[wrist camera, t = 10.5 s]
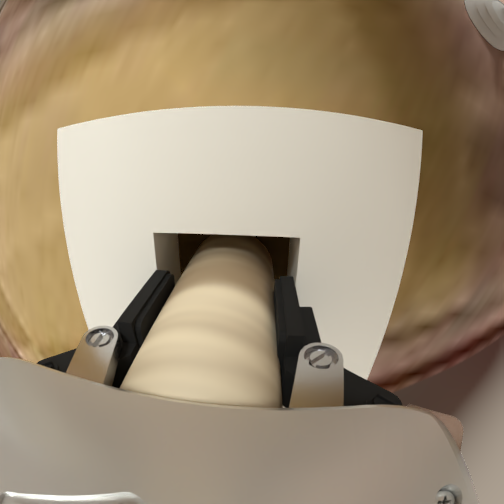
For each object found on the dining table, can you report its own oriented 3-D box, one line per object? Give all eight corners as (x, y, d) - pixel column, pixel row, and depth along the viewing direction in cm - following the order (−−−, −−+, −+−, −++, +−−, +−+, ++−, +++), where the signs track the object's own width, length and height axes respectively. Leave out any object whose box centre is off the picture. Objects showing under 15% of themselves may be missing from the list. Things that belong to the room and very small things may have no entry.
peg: (191, 229, 14) (51, 427, 3) (275, 232, 14) (304, 476, 3) (195, 301, 16) (124, 499, 5) (270, 305, 16) (275, 522, 5)
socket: (95, 129, 12) (57, 128, 9) (388, 132, 12) (422, 130, 9) (129, 357, 18) (112, 389, 15) (344, 370, 18) (354, 406, 15)
